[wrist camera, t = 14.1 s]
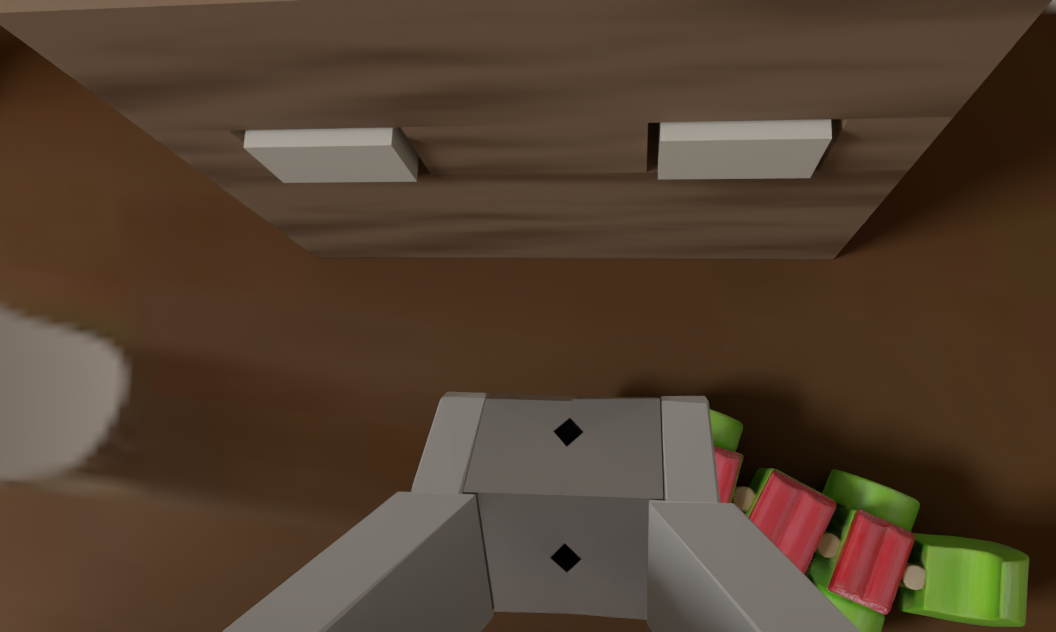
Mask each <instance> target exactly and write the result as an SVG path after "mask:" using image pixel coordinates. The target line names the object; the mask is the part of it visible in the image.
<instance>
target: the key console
mask: <svg viewBox="0 0 1056 632" xmlns="http://www.w3.org/2000/svg"><path fill="white" fill-rule="evenodd" d="M1051 1H1052V0H0V25H1V26H2V27H4V28H5V29H6V30H8V31H9V32H10V33H12V34H13V35H14V36H16V37H17V38H19V39H20V40H21V41H23V42H24V43H25V44H27V45H28V46H29V47H31V48H32V49H34V50H35V51H36V52H38V53H39V54H40V55H42V56H43V57H44V58H46V59H47V60H48V61H50V62H51V63H53V64H54V65H55V66H57V67H58V68H59V69H61V70H62V71H63V72H65V73H66V74H68V75H69V76H70V77H72V78H73V79H74V80H76V81H77V82H78V83H80V84H81V85H82V86H84V87H85V88H87V89H88V90H89V91H91V92H92V93H93V94H95V95H96V96H97V97H99V98H100V99H102V100H103V101H104V102H106V103H107V104H108V105H110V106H111V107H112V108H114V109H115V110H116V111H118V112H119V113H121V114H122V115H123V116H125V117H126V118H127V119H129V120H130V121H131V122H133V123H134V124H136V125H137V126H138V127H140V128H141V129H142V130H144V131H145V132H146V133H148V134H149V135H151V136H152V137H153V138H155V139H156V140H157V141H159V142H160V143H161V144H163V145H164V146H165V147H167V148H168V149H170V150H171V151H172V152H174V153H175V154H176V155H178V156H179V157H180V158H182V159H183V160H185V161H186V162H187V163H189V164H190V165H191V166H193V167H194V168H195V169H197V170H198V171H199V172H201V173H202V174H204V175H205V176H206V177H208V178H209V179H210V180H212V181H213V182H214V183H216V184H217V185H219V186H220V187H221V188H223V189H224V190H225V191H227V192H228V193H229V194H231V195H232V196H233V197H235V198H236V199H238V200H239V201H240V202H242V203H243V204H244V205H246V206H247V207H248V208H250V209H251V210H253V211H254V212H255V213H257V214H258V215H259V216H261V217H262V218H263V219H265V220H266V221H267V222H269V223H270V224H272V225H273V226H274V227H276V228H277V229H278V230H280V231H281V232H282V233H284V234H285V235H287V236H288V237H289V238H291V239H292V240H293V241H295V242H296V243H297V244H299V245H300V246H302V247H303V248H304V249H306V250H307V251H308V252H310V253H311V254H312V255H314V256H315V257H425V258H655V259H834V258H835V257H836V256H837V255H838V253H839V252H840V251H841V250H842V249H843V247H844V246H845V245H846V244H847V243H848V242H849V240H850V239H851V238H852V237H853V236H854V234H855V233H856V232H857V231H858V230H859V228H860V227H861V226H862V225H863V224H864V223H865V221H866V220H867V219H868V218H869V217H870V215H871V214H872V213H873V212H874V211H875V210H876V208H877V207H878V206H879V205H880V204H881V202H882V201H883V200H884V199H885V198H886V197H887V195H888V194H889V193H890V192H891V191H892V189H893V188H894V187H895V186H896V185H897V183H898V182H899V181H900V180H901V179H902V178H903V176H904V175H905V174H906V173H907V172H908V170H909V169H910V168H911V167H912V166H913V165H914V163H915V162H916V161H917V160H918V159H919V157H920V156H921V155H922V154H923V153H924V151H925V150H926V149H927V148H928V147H929V146H930V144H931V143H932V142H933V141H934V140H935V138H936V137H937V136H938V135H939V134H940V133H941V131H942V130H943V129H944V128H945V127H946V125H947V124H948V123H949V122H950V121H951V119H952V118H953V117H954V116H955V115H956V114H957V112H958V111H959V110H960V109H961V108H962V106H963V105H964V104H965V103H966V102H967V101H968V99H969V98H970V97H971V96H972V95H973V93H974V92H975V91H976V90H977V89H978V88H979V86H980V85H981V84H982V83H983V82H984V80H985V79H986V78H987V77H988V76H989V74H990V73H991V72H992V71H993V70H994V69H995V67H996V66H997V65H998V64H999V63H1000V61H1001V60H1002V59H1003V58H1004V57H1005V56H1006V54H1007V53H1008V52H1009V51H1010V50H1011V48H1012V47H1013V46H1014V45H1015V44H1016V42H1017V41H1018V40H1019V39H1020V38H1021V37H1022V35H1023V34H1024V33H1025V32H1026V31H1027V29H1028V28H1029V27H1030V26H1031V25H1032V24H1033V22H1034V21H1035V20H1036V19H1037V18H1038V16H1039V15H1040V14H1041V13H1042V12H1043V11H1044V9H1045V8H1046V7H1047V6H1048V5H1049V3H1050V2H1051ZM819 119H831V128H832V139H831V141H830V143H829V145H828V147H827V148H826V150H825V152H824V154H823V156H822V157H821V159H820V161H819V163H818V165H817V166H816V168H815V170H814V172H813V174H812V176H811V177H810V178H774V179H663V180H658V123H659V122H712V121H766V120H819ZM392 127H401V129H402V130H403V132H404V134H405V135H406V137H407V138H408V140H409V141H410V143H411V144H412V146H413V147H414V149H415V151H416V152H417V154H418V155H419V161H418V174H417V182H325V183H283V182H282V181H281V180H280V179H279V178H277V177H276V176H275V175H274V174H273V173H272V172H271V171H269V170H268V169H267V168H266V167H265V166H264V165H263V164H262V163H260V162H259V161H258V160H257V159H256V158H255V157H254V156H252V155H251V154H250V153H249V152H248V151H247V150H246V149H244V148H243V147H244V139H245V131H246V130H285V129H338V128H392Z"/></svg>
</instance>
